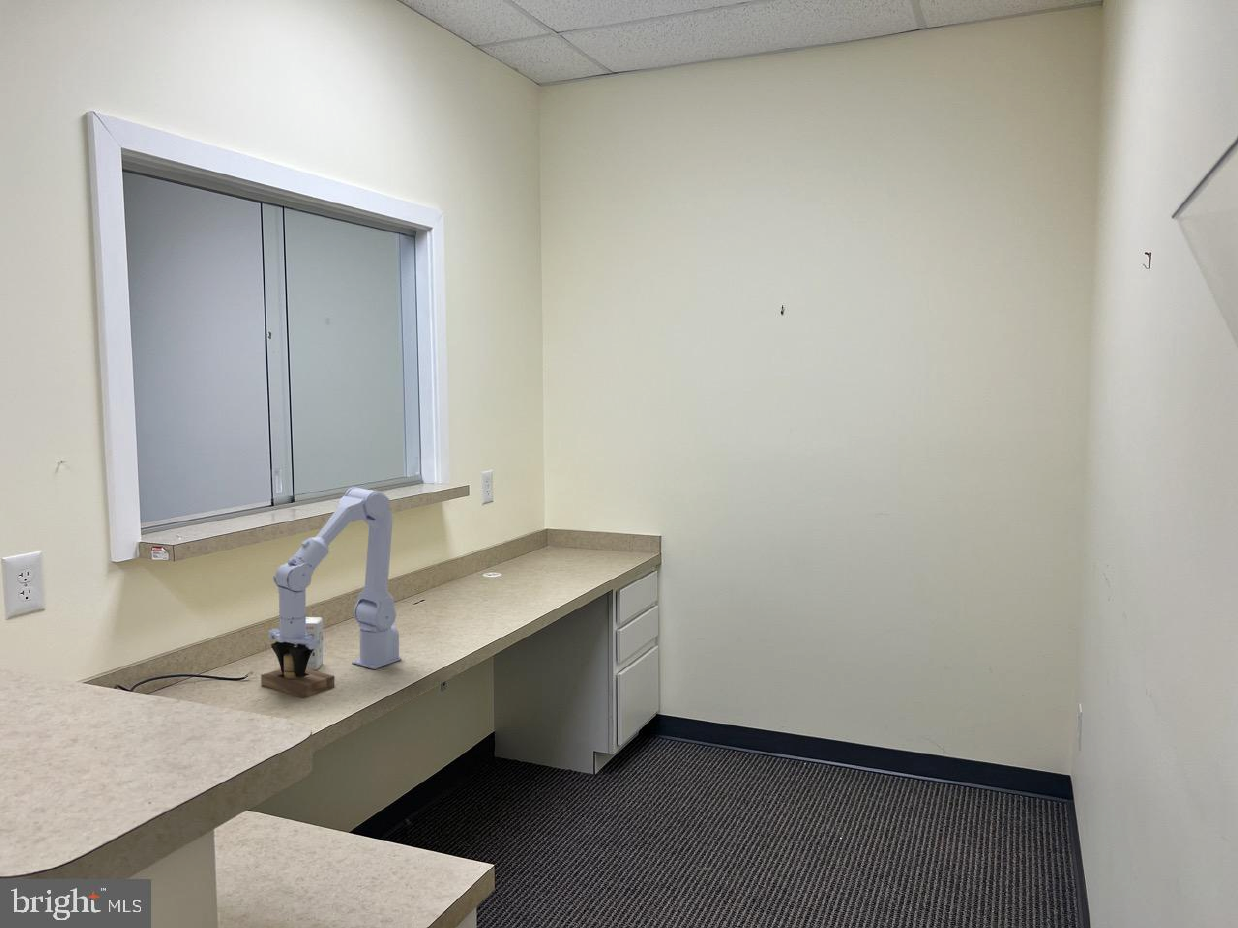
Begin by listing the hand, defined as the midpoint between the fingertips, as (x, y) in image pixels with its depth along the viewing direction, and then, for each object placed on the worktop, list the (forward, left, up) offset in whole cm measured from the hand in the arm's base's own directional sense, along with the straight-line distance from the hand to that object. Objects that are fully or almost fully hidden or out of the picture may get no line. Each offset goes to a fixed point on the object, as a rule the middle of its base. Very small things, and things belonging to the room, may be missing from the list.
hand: (293, 673), depth 212 cm
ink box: (-10, -9, -3) cm, 14 cm away
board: (0, +1, -3) cm, 3 cm away
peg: (0, 0, -2) cm, 2 cm away
